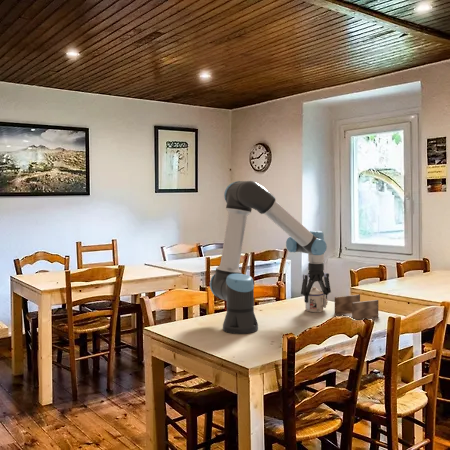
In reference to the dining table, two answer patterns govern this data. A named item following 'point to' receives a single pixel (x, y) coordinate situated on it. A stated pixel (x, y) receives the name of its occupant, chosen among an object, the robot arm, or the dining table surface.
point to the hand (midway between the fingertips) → (315, 308)
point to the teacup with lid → (316, 300)
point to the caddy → (356, 307)
